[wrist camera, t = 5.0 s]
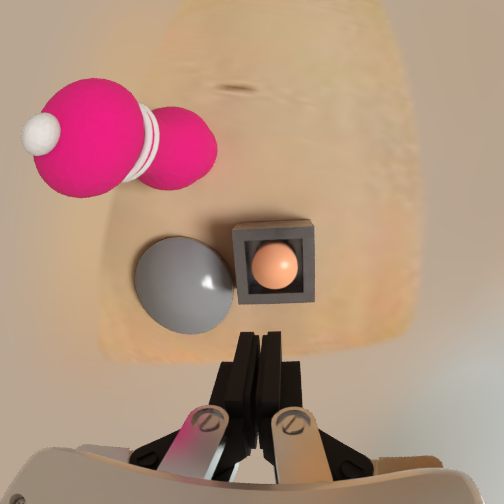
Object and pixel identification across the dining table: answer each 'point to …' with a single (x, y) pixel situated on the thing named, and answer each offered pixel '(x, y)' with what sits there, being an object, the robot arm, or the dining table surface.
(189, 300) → the pad
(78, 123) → the pepper mill
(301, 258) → the button housing
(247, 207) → the dining table surface
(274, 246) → the button
